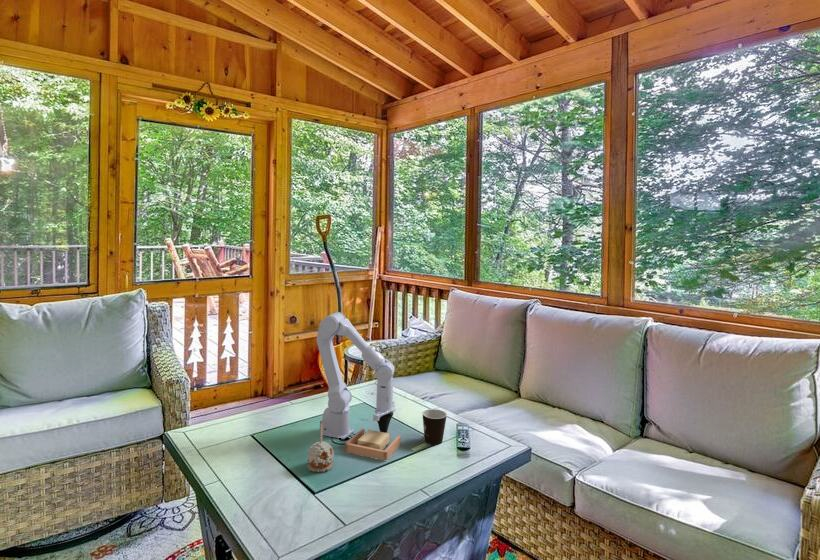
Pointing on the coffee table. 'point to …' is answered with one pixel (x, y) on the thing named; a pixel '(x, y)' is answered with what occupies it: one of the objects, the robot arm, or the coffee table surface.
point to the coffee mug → (434, 426)
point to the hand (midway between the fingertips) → (383, 432)
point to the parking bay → (370, 452)
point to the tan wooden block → (374, 439)
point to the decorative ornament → (320, 455)
